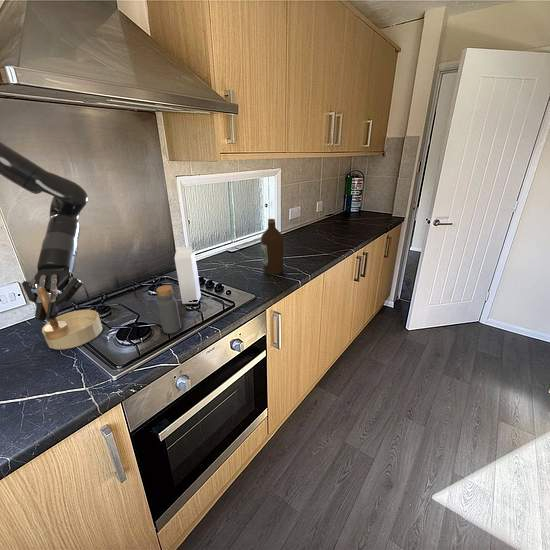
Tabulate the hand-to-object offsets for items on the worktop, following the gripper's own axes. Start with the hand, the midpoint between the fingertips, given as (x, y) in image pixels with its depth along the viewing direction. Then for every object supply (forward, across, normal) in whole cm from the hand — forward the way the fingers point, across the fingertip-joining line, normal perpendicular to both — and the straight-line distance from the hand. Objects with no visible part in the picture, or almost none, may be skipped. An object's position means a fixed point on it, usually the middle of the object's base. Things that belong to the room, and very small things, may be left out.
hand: (45, 319), depth 69 cm
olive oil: (-33, +60, +59) cm, 90 cm away
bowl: (-2, -9, +28) cm, 29 cm away
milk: (-15, +25, +42) cm, 51 cm away
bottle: (-2, +22, +28) cm, 35 cm away
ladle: (+3, 0, +6) cm, 6 cm away
